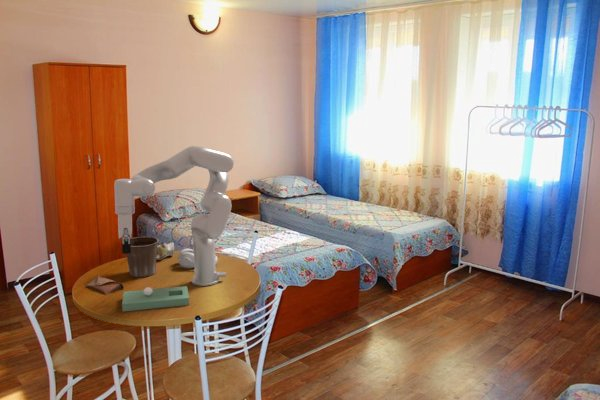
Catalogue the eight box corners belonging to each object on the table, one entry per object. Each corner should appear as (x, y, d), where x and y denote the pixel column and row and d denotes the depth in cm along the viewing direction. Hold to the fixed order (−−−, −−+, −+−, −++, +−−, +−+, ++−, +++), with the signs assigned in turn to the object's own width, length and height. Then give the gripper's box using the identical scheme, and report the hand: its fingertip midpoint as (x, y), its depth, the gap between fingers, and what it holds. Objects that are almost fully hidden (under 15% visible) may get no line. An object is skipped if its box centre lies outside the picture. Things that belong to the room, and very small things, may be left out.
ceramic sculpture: (179, 240, 277) (155, 248, 266) (180, 256, 279) (157, 264, 268) (166, 237, 283) (143, 244, 272) (168, 252, 286) (145, 260, 274)
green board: (187, 292, 228) (186, 286, 227) (189, 304, 214) (189, 297, 214) (124, 298, 221) (123, 291, 220) (122, 311, 208) (121, 304, 207)
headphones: (178, 271, 254) (218, 272, 260) (179, 255, 253) (220, 257, 258) (176, 259, 271) (214, 261, 277) (177, 245, 270) (216, 247, 276)
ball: (152, 293, 218) (152, 285, 218) (152, 296, 215) (152, 288, 214) (144, 294, 217) (143, 286, 217) (143, 297, 214) (143, 289, 213)
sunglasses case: (82, 286, 235) (88, 272, 236) (95, 289, 240) (100, 276, 242) (107, 295, 224) (113, 280, 226) (119, 298, 230) (125, 283, 232)
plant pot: (154, 279, 244) (152, 246, 241) (120, 279, 244) (117, 245, 241) (164, 268, 260) (162, 236, 257) (131, 267, 260) (129, 236, 257)
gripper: (115, 205, 219) (117, 245, 222) (114, 214, 203) (116, 256, 206) (134, 205, 222) (135, 244, 225) (135, 213, 206) (136, 255, 209)
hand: (126, 250), depth 216 cm, fingers open, 9 cm apart
